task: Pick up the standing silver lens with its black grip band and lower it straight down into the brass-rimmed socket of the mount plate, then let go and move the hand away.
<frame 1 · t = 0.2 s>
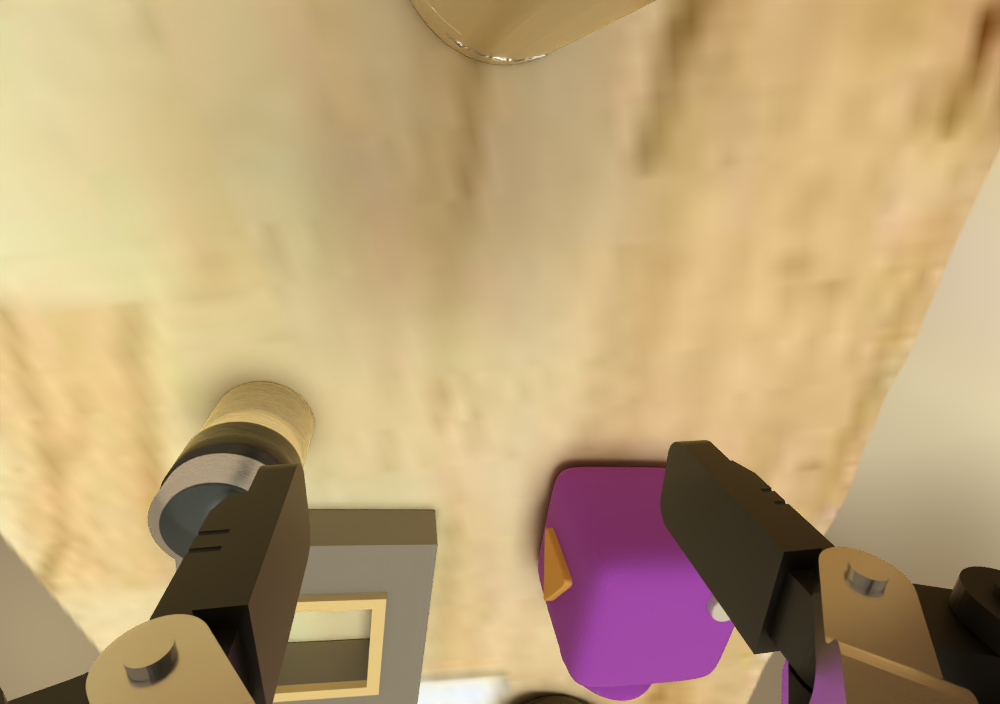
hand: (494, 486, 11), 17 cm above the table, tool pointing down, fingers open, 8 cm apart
lens: (265, 423, 29), on the table
mount plate: (318, 604, 35), on the table
toy camera: (601, 530, 36), on the table
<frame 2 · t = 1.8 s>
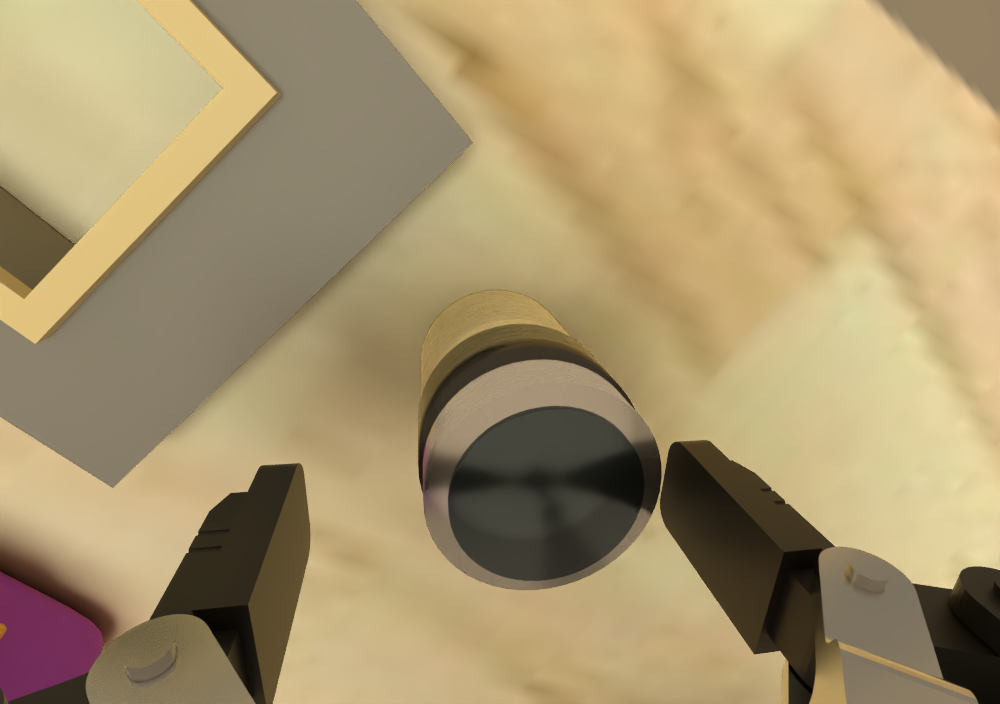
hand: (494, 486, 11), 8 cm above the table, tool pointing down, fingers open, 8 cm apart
lens: (494, 361, 18), on the table
mount plate: (71, 88, 14), on the table
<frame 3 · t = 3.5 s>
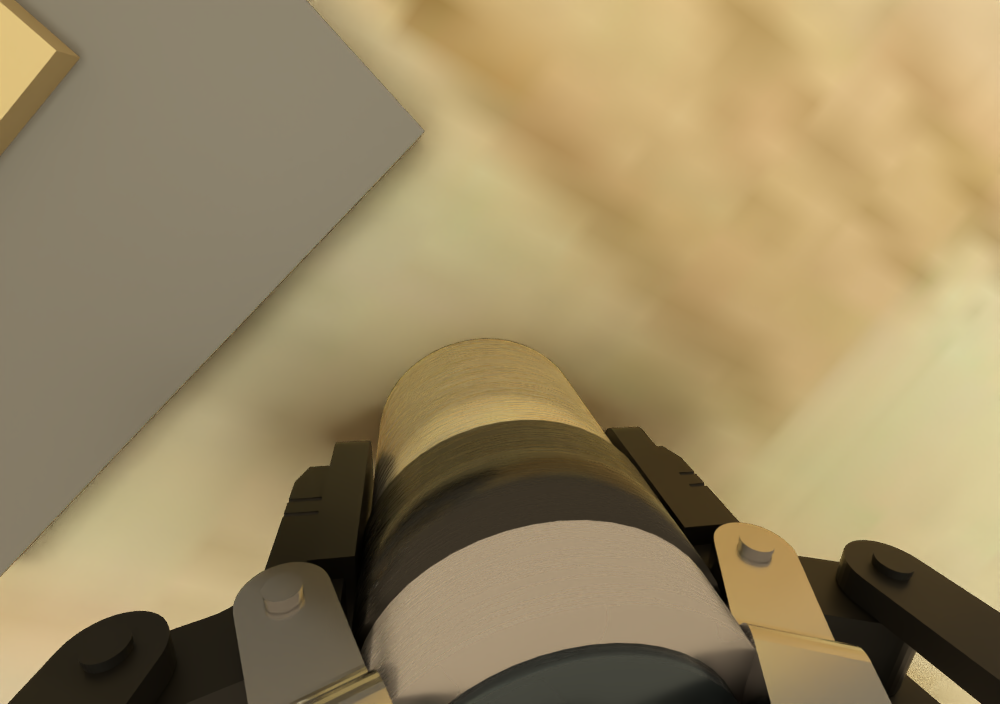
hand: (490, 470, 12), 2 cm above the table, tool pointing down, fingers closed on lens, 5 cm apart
lens: (482, 433, 13), on the table, touching gripper
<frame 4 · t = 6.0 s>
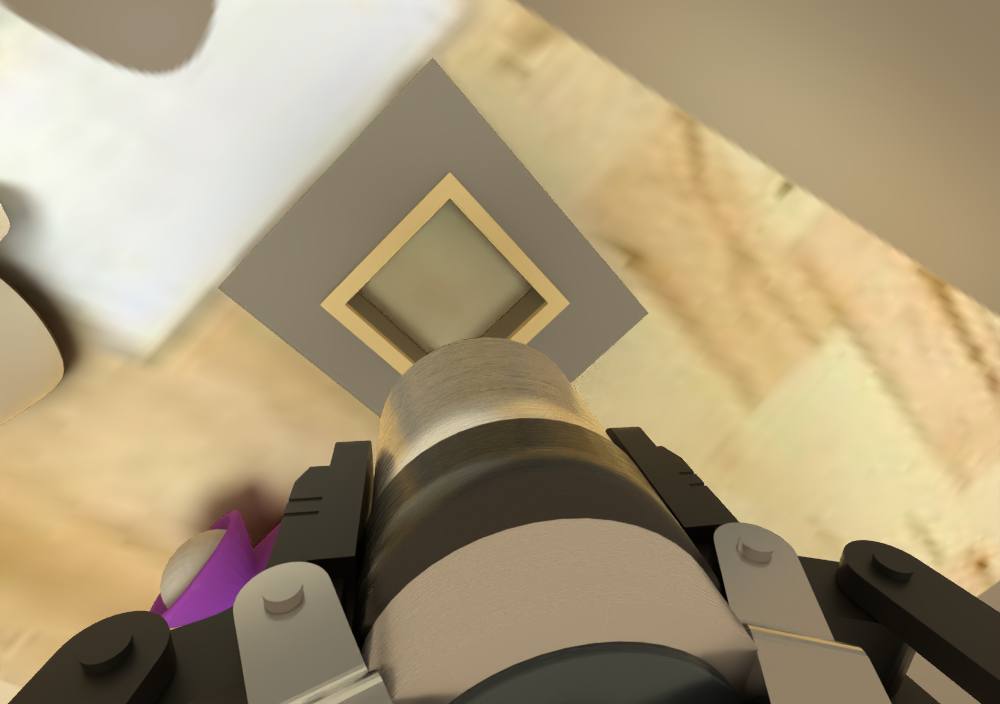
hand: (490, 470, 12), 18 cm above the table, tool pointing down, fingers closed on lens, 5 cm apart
lens: (482, 432, 13), point 16 cm above the table, touching gripper
mount plate: (445, 287, 28), on the table
toy camera: (303, 554, 33), on the table
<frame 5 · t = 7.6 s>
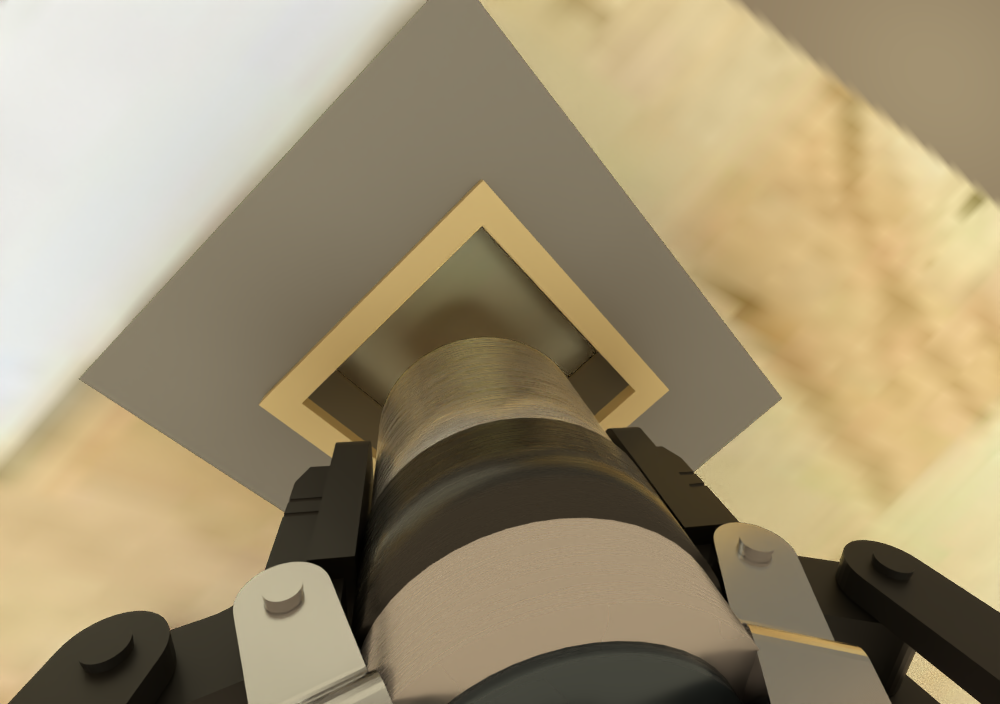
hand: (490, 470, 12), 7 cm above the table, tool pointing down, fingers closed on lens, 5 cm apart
lens: (481, 431, 13), point 6 cm above the table, touching gripper
mount plate: (465, 354, 18), on the table
when the fingers open (4 cm above the table, at t = 8.8 s): lens drops 2 cm, resting in mount plate.
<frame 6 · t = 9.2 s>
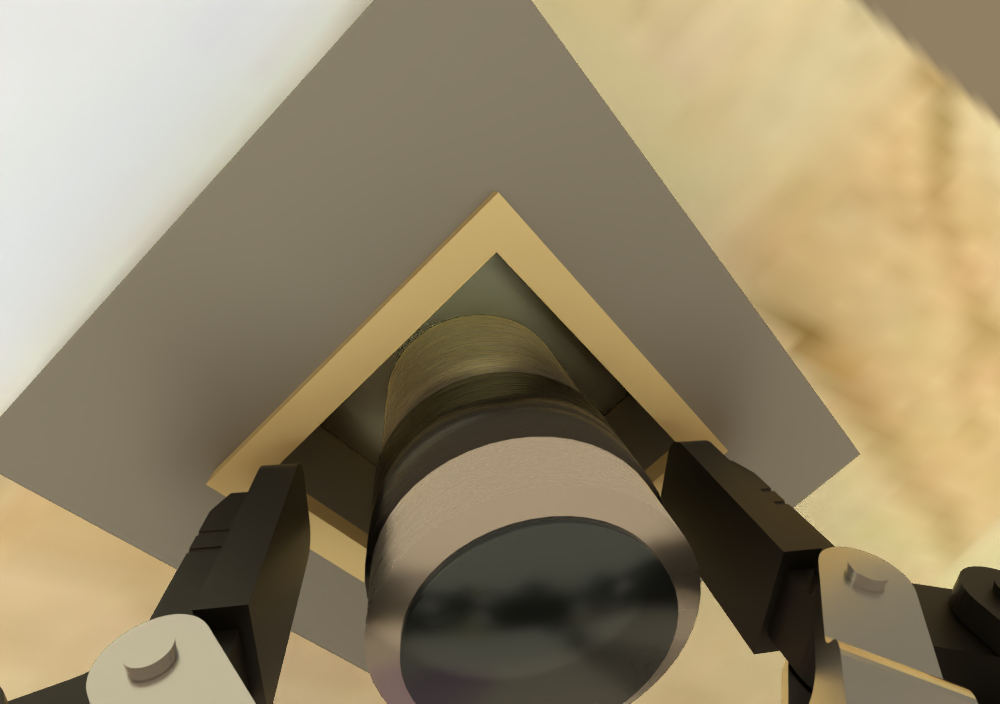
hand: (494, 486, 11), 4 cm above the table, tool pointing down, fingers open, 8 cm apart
lens: (476, 399, 15), resting in mount plate
mount plate: (471, 399, 15), on the table
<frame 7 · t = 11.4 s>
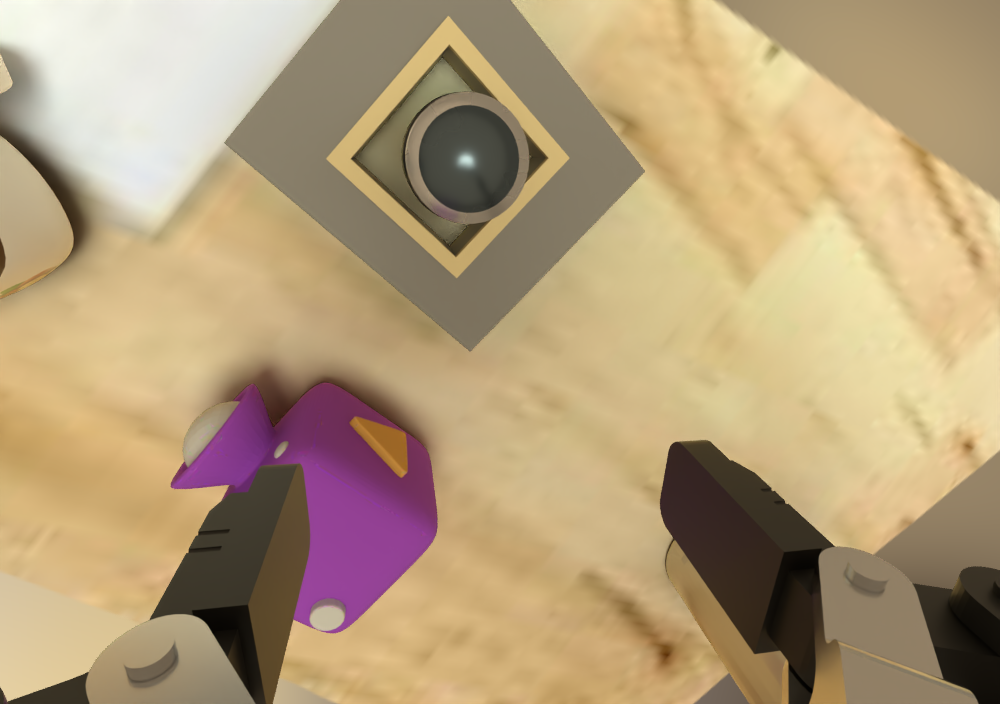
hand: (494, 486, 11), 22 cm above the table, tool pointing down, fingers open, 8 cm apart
lens: (448, 157, 29), resting in mount plate
mount plate: (446, 157, 29), on the table
toy camera: (317, 443, 34), on the table
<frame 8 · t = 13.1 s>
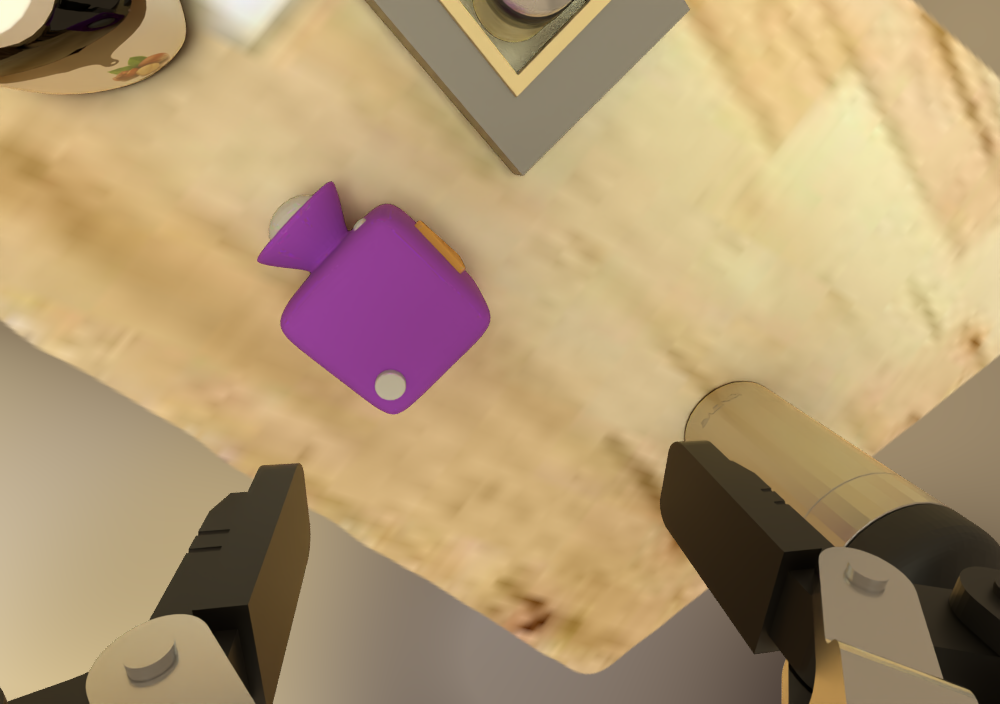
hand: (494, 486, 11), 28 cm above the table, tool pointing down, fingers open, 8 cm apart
toy camera: (374, 273, 37), on the table
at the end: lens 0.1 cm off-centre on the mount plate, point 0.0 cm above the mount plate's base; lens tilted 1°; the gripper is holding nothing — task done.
